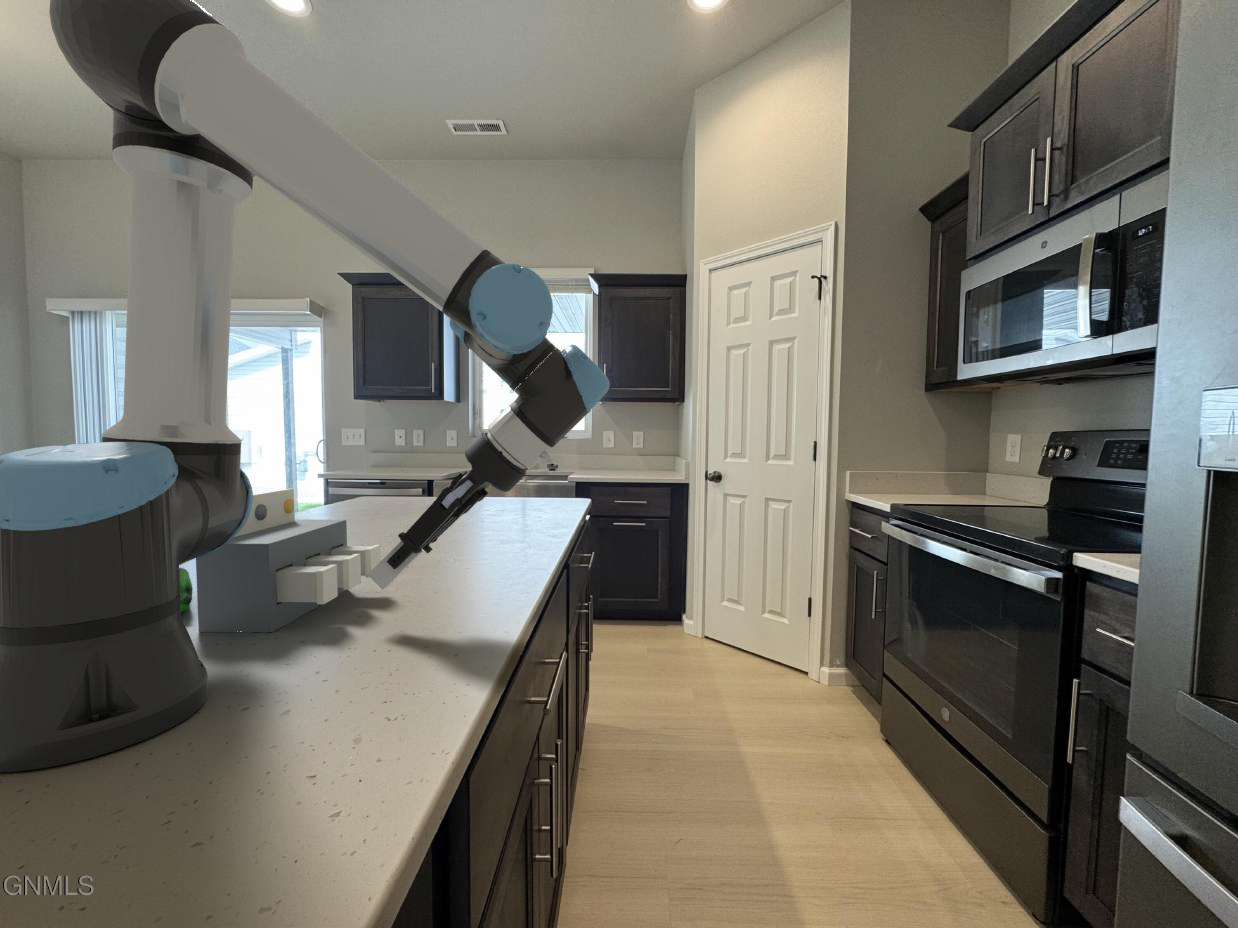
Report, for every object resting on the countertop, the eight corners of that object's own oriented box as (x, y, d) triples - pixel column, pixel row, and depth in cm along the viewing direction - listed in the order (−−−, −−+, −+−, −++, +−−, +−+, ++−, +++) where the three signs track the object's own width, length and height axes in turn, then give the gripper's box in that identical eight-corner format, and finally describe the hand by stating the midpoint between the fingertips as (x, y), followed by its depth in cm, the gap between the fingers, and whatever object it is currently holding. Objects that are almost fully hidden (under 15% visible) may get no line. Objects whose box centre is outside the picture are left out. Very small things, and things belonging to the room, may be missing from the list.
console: (271, 632, 68) (268, 543, 68) (198, 632, 68) (195, 543, 68) (348, 589, 87) (346, 519, 87) (290, 589, 87) (288, 519, 87)
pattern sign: (220, 541, 69) (219, 501, 69) (214, 541, 69) (212, 501, 69) (296, 521, 85) (295, 488, 85) (290, 521, 85) (289, 488, 85)
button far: (370, 577, 82) (370, 549, 82) (318, 577, 82) (317, 549, 82) (380, 571, 86) (380, 544, 86) (330, 571, 86) (329, 544, 86)
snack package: (121, 634, 68) (120, 592, 68) (128, 603, 80) (127, 567, 80) (194, 622, 73) (193, 583, 73) (190, 594, 85) (189, 560, 85)
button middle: (349, 589, 76) (348, 559, 76) (292, 589, 76) (291, 558, 76) (361, 582, 79) (360, 553, 79) (306, 582, 79) (305, 553, 79)
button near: (323, 604, 69) (322, 570, 69) (261, 603, 70) (260, 570, 69) (337, 596, 73) (336, 564, 73) (278, 595, 73) (277, 564, 73)
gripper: (518, 475, 64) (375, 618, 65) (536, 468, 77) (417, 587, 78) (471, 429, 63) (329, 572, 65) (498, 430, 76) (379, 549, 78)
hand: (377, 580), depth 71 cm, fingers closed
